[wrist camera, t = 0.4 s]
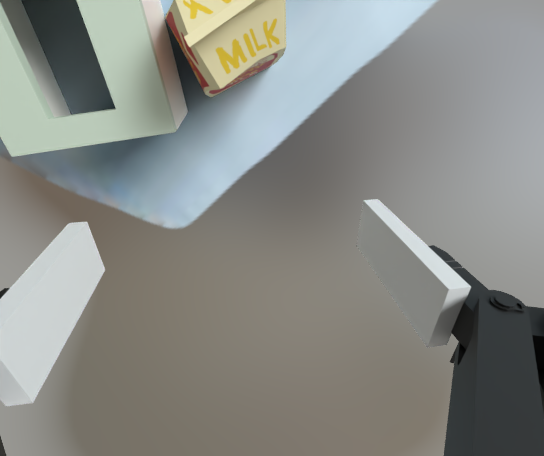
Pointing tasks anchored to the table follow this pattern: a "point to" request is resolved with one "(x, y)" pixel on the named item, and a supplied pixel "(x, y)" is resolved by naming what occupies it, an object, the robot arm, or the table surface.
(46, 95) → the coin box
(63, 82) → the table surface
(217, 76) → the milk carton
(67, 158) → the table surface
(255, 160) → the table surface
